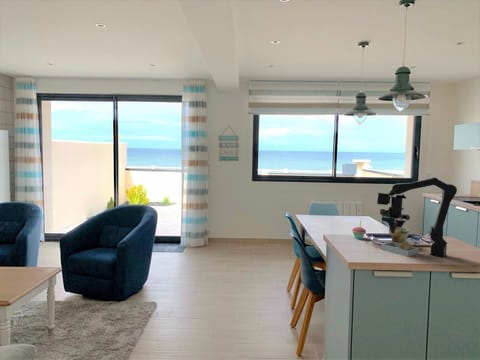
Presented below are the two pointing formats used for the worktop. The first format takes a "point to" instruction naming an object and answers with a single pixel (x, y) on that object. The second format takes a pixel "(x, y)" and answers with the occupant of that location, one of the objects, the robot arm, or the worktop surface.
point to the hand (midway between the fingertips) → (394, 232)
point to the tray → (395, 249)
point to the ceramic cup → (401, 236)
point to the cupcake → (359, 232)
